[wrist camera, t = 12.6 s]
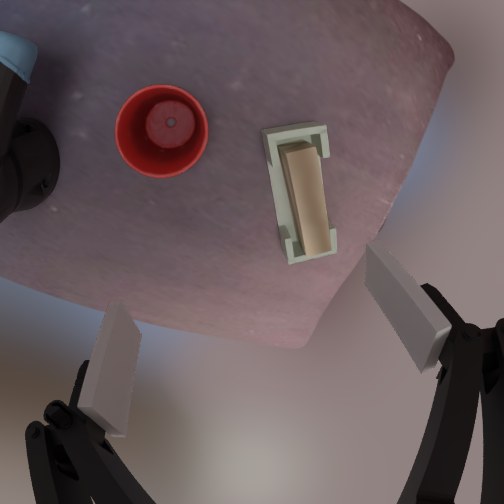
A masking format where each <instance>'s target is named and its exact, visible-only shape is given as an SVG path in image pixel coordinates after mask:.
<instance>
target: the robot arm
mask: <svg viewBox="0 0 504 504" xmlns="http://www.w3.org/2000/svg"><path fill="white" fill-rule="evenodd" d="M37 55H38V50H37V47H36V45H35V44H34V43H33V42H32V41H30V40H28V39H25V38H23V37H20V36H17V35H15V34H12V33H9V32H6V31H2V30H0V223H1V222H2V221H3V220H4V219H5V218H7V217H8V216H9V215H10V214H11V213H13V212H18V211H23V210H28V209H31V208H33V207H35V206H37V205H38V204H40V203H41V202H42V201H43V200H45V199H46V198H47V197H48V196H49V195H50V193H51V192H52V190H53V189H54V187H55V184H56V182H57V179H58V174H59V153H58V148H57V145H56V142H55V140H54V138H53V136H52V134H51V133H50V131H49V130H48V129H47V128H46V127H45V126H44V125H43V124H42V123H40V122H39V121H37V120H34V119H31V118H22V119H18V120H16V119H17V116H18V112H19V109H20V106H21V102H22V99H23V96H24V93H25V90H26V87H27V85H29V83H30V76H31V73H32V70H33V67H34V64H35V62H36V59H37ZM365 285H366V287H367V288H368V290H369V291H370V293H371V294H372V296H373V297H374V299H375V300H376V302H377V303H378V305H379V306H380V308H381V309H382V311H383V313H384V314H385V315H386V317H387V319H388V320H389V322H390V323H391V325H392V326H393V328H394V330H395V331H396V333H397V335H398V336H399V338H400V339H401V341H402V343H403V344H404V346H405V348H406V349H407V351H408V352H409V354H410V356H411V357H412V359H413V361H414V362H415V364H416V366H417V368H418V369H419V371H420V373H424V372H426V371H428V370H430V369H432V368H434V367H435V366H436V364H437V361H438V359H439V361H440V362H441V364H442V367H441V369H440V371H439V373H438V375H437V377H436V379H438V378H439V379H438V384H437V388H436V392H435V396H434V401H433V405H432V408H431V412H430V416H429V419H428V423H427V426H426V429H425V433H424V436H423V439H422V442H421V445H420V448H419V451H418V454H417V456H416V459H415V462H414V465H413V467H412V470H411V472H410V475H409V477H408V480H407V482H406V485H405V487H404V489H403V491H402V494H401V496H400V498H399V500H398V502H397V504H455V503H454V498H455V495H456V492H457V489H458V486H459V483H460V480H461V477H462V473H463V470H464V467H465V463H466V459H467V455H468V451H469V447H470V443H471V438H472V434H473V429H474V424H475V419H476V413H477V406H478V399H479V392H480V394H481V404H482V418H483V444H484V445H483V481H482V493H481V503H480V504H504V318H502V319H500V320H498V322H497V323H496V326H495V327H493V328H487V329H480V328H479V327H477V326H476V325H474V324H471V323H465V322H464V321H463V320H462V318H461V317H460V316H459V315H458V313H457V312H456V311H455V310H454V309H453V307H452V306H451V305H450V304H449V303H448V302H447V300H446V299H445V298H444V297H442V295H441V293H440V292H439V291H438V290H437V289H436V288H435V287H433V286H431V285H429V284H428V283H426V284H423V285H421V286H420V285H419V284H418V283H417V282H416V281H415V280H414V279H413V277H412V276H411V275H410V274H409V273H408V272H407V270H406V269H405V268H404V267H403V266H402V265H401V264H400V263H399V262H398V260H397V259H396V258H395V257H394V256H393V255H392V254H391V253H390V252H389V251H388V249H387V248H386V247H385V246H384V245H383V244H382V243H381V242H380V241H379V240H378V241H374V242H370V243H366V272H365ZM141 337H142V334H141V333H140V331H139V329H138V328H137V326H136V325H135V323H134V321H133V319H132V317H131V316H130V314H129V312H128V310H127V309H126V307H125V305H124V303H123V301H122V300H117V301H112V302H109V305H108V308H107V310H106V313H105V316H104V319H103V322H102V324H101V327H100V330H99V333H98V336H97V339H96V343H95V346H94V349H93V352H92V355H91V358H90V360H85V361H84V362H83V364H82V365H81V367H80V368H79V371H78V374H77V379H76V381H75V386H74V388H73V392H72V395H71V399H70V403H69V406H67V405H66V404H65V403H64V402H63V401H60V400H54V401H52V402H51V403H49V404H48V405H47V407H46V409H45V411H44V420H45V421H46V422H47V423H49V425H46V426H44V425H43V424H42V423H41V422H39V421H33V422H32V423H30V424H29V425H28V427H27V429H26V432H25V440H26V449H27V457H28V463H29V469H30V476H31V481H32V487H33V491H34V496H35V500H36V504H93V502H92V499H93V500H94V502H95V504H156V503H155V502H154V501H153V500H152V498H151V497H150V496H149V495H148V494H147V493H146V491H145V490H144V489H143V488H142V486H141V485H140V484H139V483H138V482H137V480H136V479H135V478H134V476H133V475H132V474H131V472H130V471H129V470H128V469H127V467H126V466H125V464H124V463H123V462H122V461H121V459H120V458H119V456H118V455H117V453H116V452H115V450H114V449H113V447H112V446H111V445H110V443H109V441H108V440H107V439H106V438H105V431H106V432H107V433H108V434H109V435H111V436H112V437H126V433H127V425H128V417H129V409H130V401H131V395H132V388H133V382H134V376H135V370H136V364H137V358H138V353H139V347H140V342H141ZM91 497H92V499H91Z"/></svg>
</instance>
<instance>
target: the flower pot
mask: <svg viewBox="0 0 504 504" xmlns="http://www.w3.org/2000/svg"><path fill="white" fill-rule="evenodd" d="M208 133H209V129H208V121H207V118H206V114H205V112H204V110H203V108H202V106H201V105H200V103H199V102H198V101H197V100H196V99H195V98H194V97H193V96H192V95H191V94H190V93H188V92H187V91H185V90H183V89H181V88H179V87H176V86H172V85H164V84H160V85H151V86H148V87H145V88H143V89H141V90H139V91H137V92H136V93H134V94H133V95H132V96H131V97H130V98H129V99H128V100H127V101H126V102H125V103H124V105H123V106H122V108H121V109H120V112H119V114H118V116H117V120H116V124H115V140H116V145H117V148H118V151H119V153H120V155H121V156H122V158H123V159H124V161H125V162H126V163H127V164H128V165H129V166H130V167H131V168H133V169H134V170H135V171H137V172H139V173H141V174H143V175H146V176H149V177H154V178H168V177H173V176H176V175H179V174H181V173H183V172H185V171H186V170H188V169H189V168H191V167H192V166H193V165H194V164H195V163H196V162H197V161H198V160H199V158H200V157H201V156H202V154H203V152H204V150H205V148H206V145H207V141H208Z"/></svg>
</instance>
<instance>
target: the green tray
mask: <svg viewBox="0 0 504 504" xmlns="http://www.w3.org/2000/svg"><path fill="white" fill-rule="evenodd" d="M261 133H262V138H263V143H264V149H265V154H266V159H267V165H268V170H269V176H270V181H271V187H272V193H273V198H274V204H275V210H276V216H277V222H278V228H279V234H280V240H281V246H282V250H283V252H284V255H285V257H286V259H287V262H288V264H293V263H297V262H301V261H305V260H309V259H314V258H318V257H322V256H326V255H330V254H334V253H337V240H336V227H335V226H334V225H333V224H332V222H331V221H330V220H329V219H328V225H329V233H330V241H331V249H332V250H331V251H328V252H325V253H321V254H318V255H314V256H311V257H308V258H307V257H306V255H305V253H304V252H303V250H302V248H301V246H300V244H299V242H298V240H297V238H296V233H295V228H294V223H293V218H292V213H291V208H290V203H289V199H288V194H287V190H286V185H285V180H284V176H283V171H282V167H281V163H280V158H279V154H278V150H277V145H279V144H283V143H288V142H292V141H296V140H301V139H303V140H305V141H307V142H309V143H310V144H312V145H314V146H316V150H317V155H318V161H319V167H320V172H321V163H320V156H321V157H322V158H328V157H330V152H329V144H328V136H327V128H326V125H324V124H321V123H318V122H315V121H311V122H304V123H298V124H291V125H285V126H279V127H274V128H268V129H263V130H261ZM321 178H322V172H321ZM322 185H323V181H322Z"/></svg>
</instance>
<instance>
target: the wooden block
mask: <svg viewBox="0 0 504 504" xmlns="http://www.w3.org/2000/svg"><path fill="white" fill-rule="evenodd" d="M277 150H278V154H279V158H280V163H281V167H282V171H283V176H284V180H285V185H286V190H287V194H288V199H289V203H290V208H291V213H292V218H293V223H294V228H295V233H296V238H297V240H298V242H299V244H300V246H301V248H302V250H303V252H304V253H305V255H306V257H307V258H308V257H311V256H314V255H318V254H321V253H325V252H328V251H331V250H332V249H331V241H330V233H329V225H328V218H327V211H326V204H325V197H324V191H323V185H322V178H321V172H320V167H319V161H318V155H317V150H316V146H314V145H312V144H310V143H309V142H307V141H305V140H303V139H301V140H296V141H292V142H288V143H283V144H279V145H277Z"/></svg>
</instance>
